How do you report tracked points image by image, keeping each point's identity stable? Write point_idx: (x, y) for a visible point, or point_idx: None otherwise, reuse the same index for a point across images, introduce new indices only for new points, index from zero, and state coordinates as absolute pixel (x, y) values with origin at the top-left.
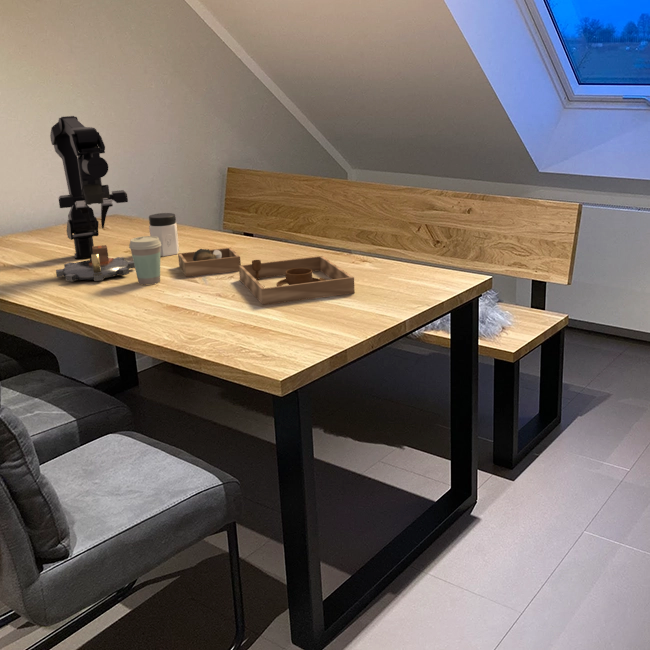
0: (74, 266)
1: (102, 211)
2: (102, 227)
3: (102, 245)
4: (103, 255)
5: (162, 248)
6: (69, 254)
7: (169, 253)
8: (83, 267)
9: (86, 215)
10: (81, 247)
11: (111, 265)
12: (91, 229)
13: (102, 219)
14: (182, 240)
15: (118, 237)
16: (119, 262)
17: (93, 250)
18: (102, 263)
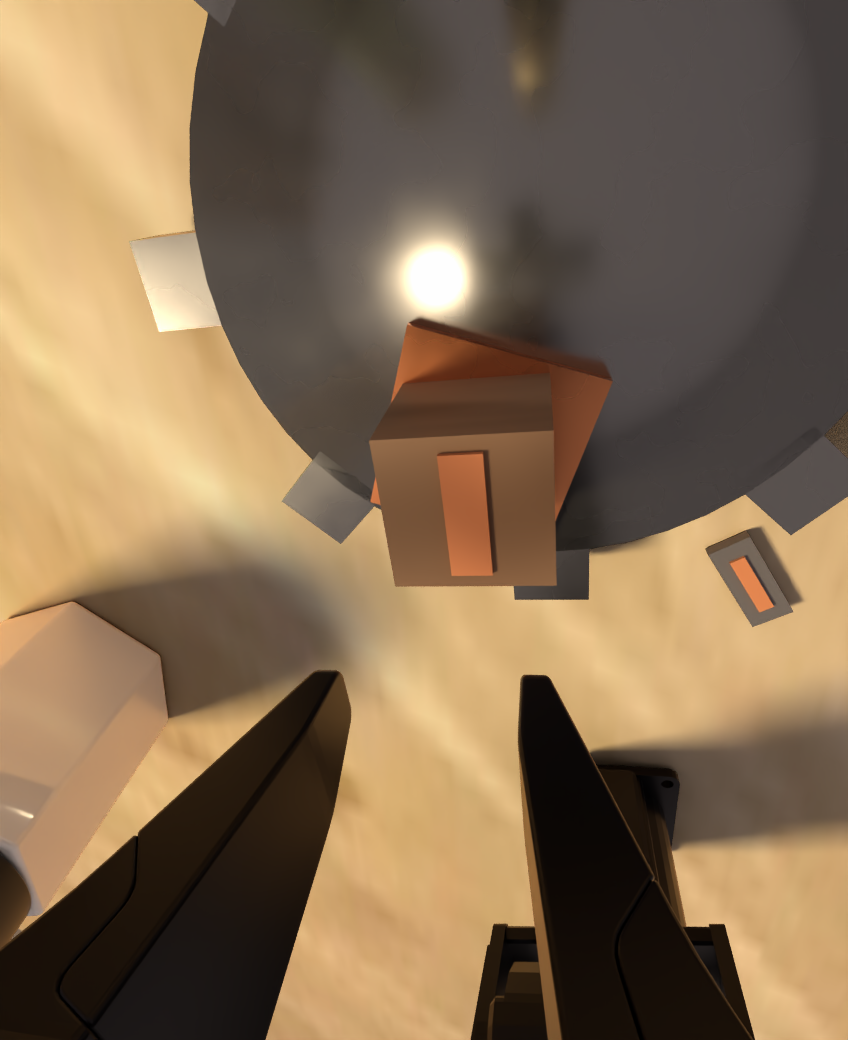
0: (785, 333)
1: (64, 1029)
2: (328, 679)
3: (436, 584)
4: (439, 402)
5: (40, 639)
6: (695, 880)
7: (33, 615)
8: (691, 237)
9: (649, 1004)
10: (634, 835)
11: (365, 209)
12: (536, 676)
13: (237, 800)
14: (86, 854)
15: (416, 1010)
16: (296, 327)
17: (547, 423)
18: (468, 338)
